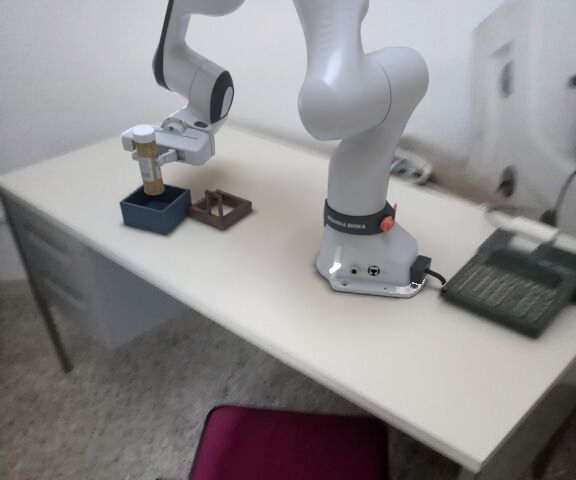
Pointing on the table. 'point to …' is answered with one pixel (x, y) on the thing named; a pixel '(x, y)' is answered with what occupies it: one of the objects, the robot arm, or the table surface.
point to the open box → (156, 209)
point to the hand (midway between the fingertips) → (146, 159)
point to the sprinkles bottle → (148, 159)
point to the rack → (219, 209)
